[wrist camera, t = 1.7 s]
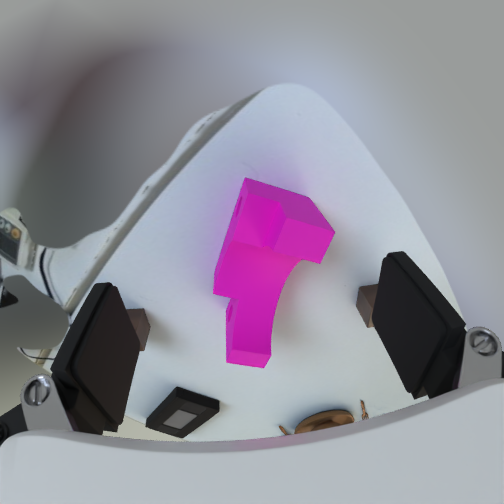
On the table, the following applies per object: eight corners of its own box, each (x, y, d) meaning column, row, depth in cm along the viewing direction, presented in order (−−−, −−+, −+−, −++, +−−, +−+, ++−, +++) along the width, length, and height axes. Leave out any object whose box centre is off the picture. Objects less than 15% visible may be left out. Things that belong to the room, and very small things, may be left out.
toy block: (245, 177, 25) (250, 206, 19) (309, 197, 26) (335, 232, 20) (204, 306, 32) (200, 357, 25) (257, 317, 33) (264, 368, 27)
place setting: (363, 394, 45) (373, 420, 40) (370, 428, 54) (376, 449, 49) (272, 423, 47) (276, 450, 42) (299, 451, 56) (303, 472, 51)
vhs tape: (220, 400, 42) (220, 410, 40) (183, 429, 47) (182, 438, 45) (176, 385, 39) (175, 396, 37) (146, 418, 44) (145, 427, 43)
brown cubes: (120, 309, 31) (111, 332, 28) (381, 283, 32) (395, 303, 29) (128, 327, 33) (121, 351, 29) (377, 302, 34) (389, 323, 30)
